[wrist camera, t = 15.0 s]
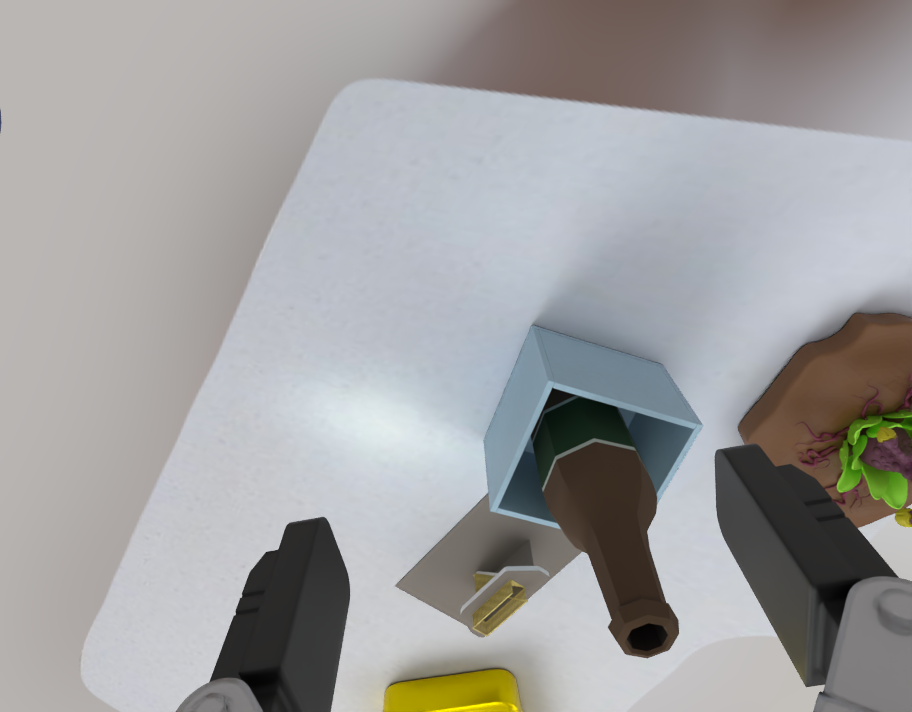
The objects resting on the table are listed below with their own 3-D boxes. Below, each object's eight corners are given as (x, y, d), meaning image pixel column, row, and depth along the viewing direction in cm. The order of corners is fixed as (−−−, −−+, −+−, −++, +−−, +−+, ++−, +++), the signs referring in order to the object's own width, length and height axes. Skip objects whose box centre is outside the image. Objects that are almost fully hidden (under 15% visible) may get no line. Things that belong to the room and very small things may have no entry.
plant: (697, 439, 58) (749, 523, 48) (877, 275, 51) (982, 333, 41) (835, 541, 64) (908, 636, 54) (1015, 406, 57) (1137, 484, 47)
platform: (395, 586, 66) (390, 640, 60) (509, 472, 59) (516, 520, 54) (485, 636, 69) (489, 692, 63) (602, 533, 63) (618, 584, 57)
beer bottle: (507, 414, 56) (545, 650, 34) (567, 350, 53) (648, 562, 32) (573, 459, 58) (648, 706, 37) (634, 399, 55) (753, 629, 34)
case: (483, 440, 58) (489, 511, 49) (531, 324, 53) (548, 380, 44) (605, 474, 60) (631, 547, 51) (663, 364, 55) (703, 425, 46)
